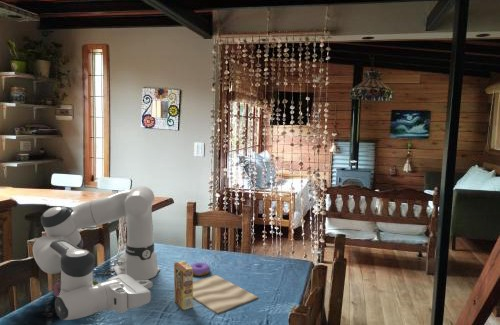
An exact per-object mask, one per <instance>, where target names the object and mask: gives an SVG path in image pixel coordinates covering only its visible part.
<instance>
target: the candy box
mask: <svg viewBox="0 0 500 325" xmlns="http://www.w3.org/2000/svg"><path fill="white" fill-rule="evenodd" d="M173 264H174V265H173V269H174V272H173V273H174V274H173V276H174V278H173V280H174V281H173V282H174V286H173V288H174V302H175V303H176V304H177V305H178V306H179V307H180V309H182V310H183V311H186V310H189V309H192V308H194V299H193V282H194V275H193V268H192V267H191V265H190V264H188V263H187V262H186V261H185V260H182V261H177V262H174V263H173Z"/></svg>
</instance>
